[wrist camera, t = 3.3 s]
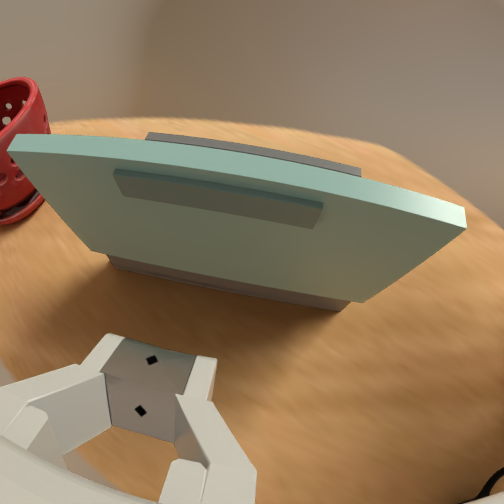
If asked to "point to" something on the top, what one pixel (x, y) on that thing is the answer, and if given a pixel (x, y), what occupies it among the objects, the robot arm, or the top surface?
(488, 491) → the mug
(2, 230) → the top surface
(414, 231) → the lid
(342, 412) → the top surface
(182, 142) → the grey rectangular box
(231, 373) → the top surface
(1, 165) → the plant pot
